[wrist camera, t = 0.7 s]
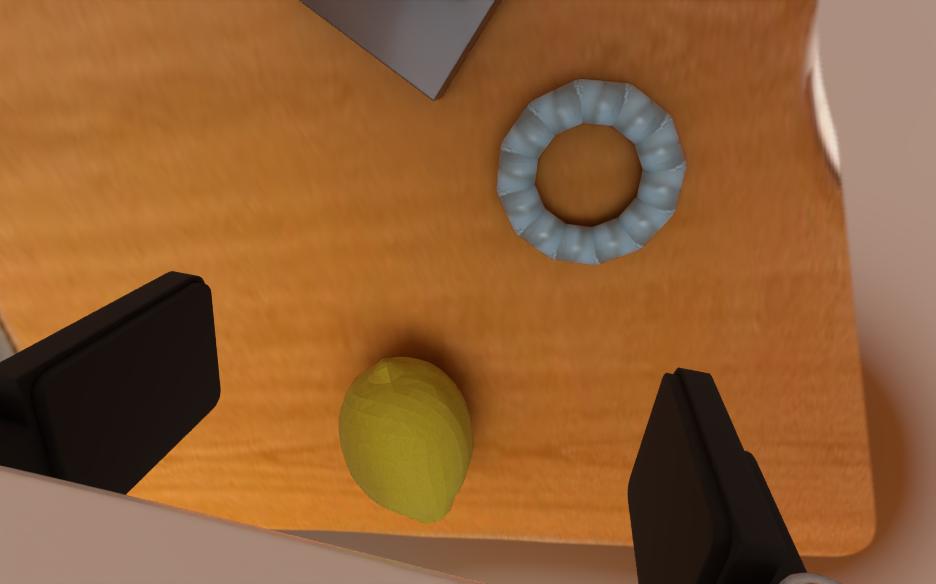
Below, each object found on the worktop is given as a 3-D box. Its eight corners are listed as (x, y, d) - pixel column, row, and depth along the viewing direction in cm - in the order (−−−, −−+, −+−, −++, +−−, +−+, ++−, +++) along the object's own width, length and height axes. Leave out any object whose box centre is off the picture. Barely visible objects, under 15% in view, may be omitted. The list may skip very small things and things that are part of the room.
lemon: (354, 326, 35) (297, 398, 27) (473, 325, 33) (445, 401, 26) (381, 459, 39) (338, 552, 32) (487, 464, 37) (468, 562, 30)
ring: (574, 39, 26) (574, 38, 24) (720, 154, 27) (731, 161, 25) (467, 190, 30) (460, 199, 28) (598, 286, 30) (599, 300, 29)
